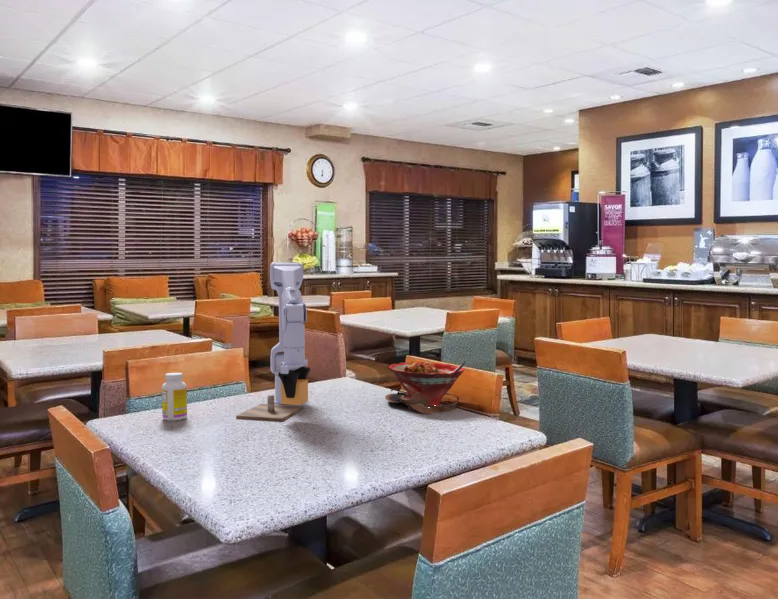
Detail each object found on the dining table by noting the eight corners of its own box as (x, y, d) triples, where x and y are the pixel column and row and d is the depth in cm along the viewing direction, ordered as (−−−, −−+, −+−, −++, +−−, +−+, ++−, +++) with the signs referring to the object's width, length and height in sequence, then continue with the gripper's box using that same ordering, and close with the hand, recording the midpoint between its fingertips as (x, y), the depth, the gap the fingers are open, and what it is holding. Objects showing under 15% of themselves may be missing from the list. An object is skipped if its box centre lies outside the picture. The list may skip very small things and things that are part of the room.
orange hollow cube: (289, 399, 187) (289, 378, 186) (307, 400, 185) (307, 379, 185) (281, 403, 181) (281, 382, 181) (300, 405, 180) (300, 383, 180)
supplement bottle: (190, 416, 189) (190, 372, 189) (181, 421, 183) (180, 376, 182) (168, 415, 190) (167, 371, 189) (158, 421, 183) (157, 375, 183)
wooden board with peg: (261, 407, 201) (260, 389, 201) (303, 409, 198) (303, 391, 198) (236, 419, 186) (235, 399, 186) (282, 422, 182) (281, 402, 182)
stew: (488, 409, 199) (488, 356, 198) (427, 420, 185) (427, 363, 184) (428, 394, 221) (428, 347, 220) (369, 403, 207) (369, 352, 206)
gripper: (291, 343, 190) (291, 389, 191) (269, 349, 176) (270, 400, 177) (314, 344, 189) (314, 391, 189) (294, 350, 175) (294, 401, 175)
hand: (294, 395), depth 183 cm, fingers closed on orange hollow cube, 6 cm apart
